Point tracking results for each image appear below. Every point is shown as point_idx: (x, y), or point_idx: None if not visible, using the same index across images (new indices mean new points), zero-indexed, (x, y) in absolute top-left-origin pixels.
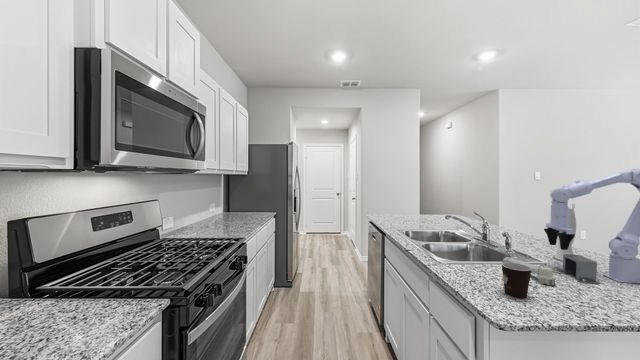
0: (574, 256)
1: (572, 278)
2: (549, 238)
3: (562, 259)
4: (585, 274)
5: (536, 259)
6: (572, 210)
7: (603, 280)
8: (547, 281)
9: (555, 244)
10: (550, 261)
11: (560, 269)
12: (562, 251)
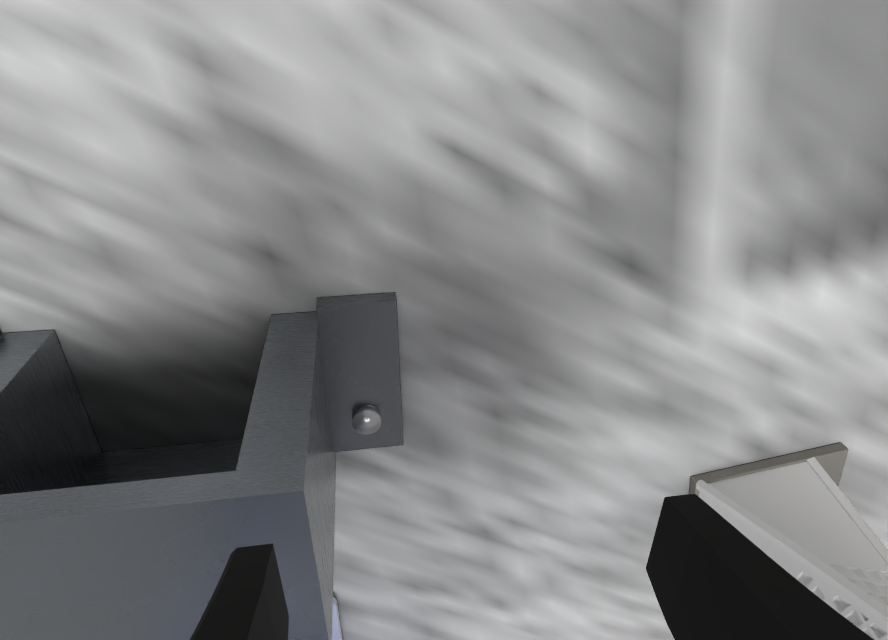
0: (184, 583)
1: (87, 311)
2: (778, 630)
3: (725, 489)
4: None
5: (820, 256)
6: None
7: None
8: None
9: (654, 579)
10: (728, 372)
11: (377, 324)
12: (792, 565)
